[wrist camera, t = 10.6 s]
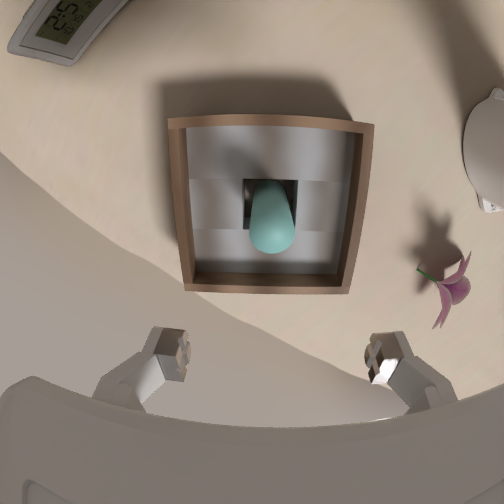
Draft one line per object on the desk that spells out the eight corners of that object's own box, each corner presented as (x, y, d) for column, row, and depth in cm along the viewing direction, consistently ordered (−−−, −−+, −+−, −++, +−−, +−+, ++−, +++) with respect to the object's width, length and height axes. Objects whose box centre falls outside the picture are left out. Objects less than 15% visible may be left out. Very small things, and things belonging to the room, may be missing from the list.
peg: (286, 180, 29) (296, 212, 21) (285, 211, 31) (293, 253, 22) (253, 179, 30) (248, 211, 21) (253, 210, 31) (249, 253, 22)
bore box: (353, 121, 26) (374, 124, 20) (336, 265, 34) (348, 294, 29) (185, 116, 26) (167, 118, 21) (196, 262, 35) (184, 290, 30)
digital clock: (71, 73, 23) (12, 73, 13) (49, 36, 19) (-4, 31, 10) (172, -13, 18) (137, -52, 9) (140, -44, 15) (103, -78, 5)
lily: (408, 311, 39) (450, 342, 32) (387, 295, 32) (443, 335, 25) (443, 250, 38) (488, 276, 30) (431, 218, 31) (490, 248, 23)
